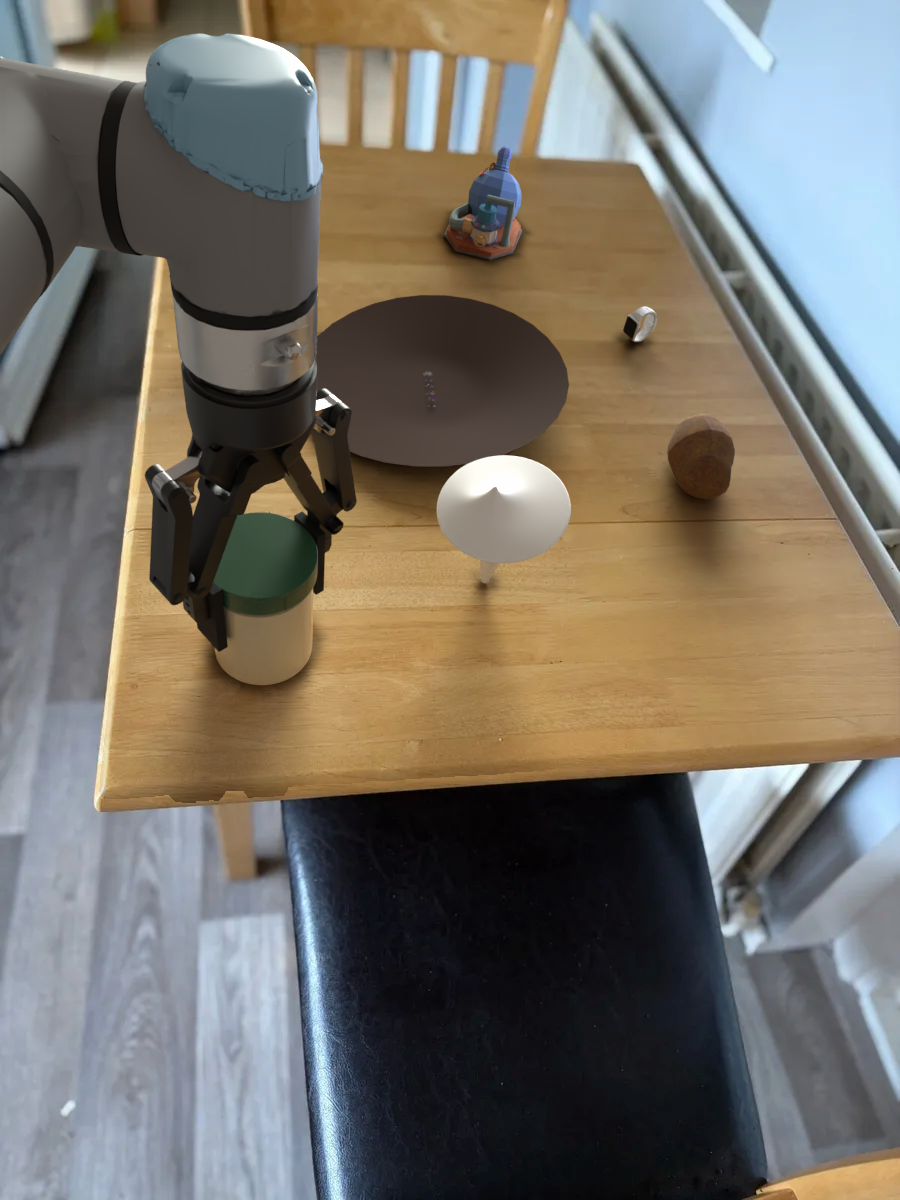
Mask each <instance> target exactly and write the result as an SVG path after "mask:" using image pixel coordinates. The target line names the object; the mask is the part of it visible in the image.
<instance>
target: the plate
mask: <svg viewBox="0 0 900 1200" xmlns="http://www.w3.org/2000/svg"><path fill="white" fill-rule="evenodd" d="M315 361H316V365H317V392H318V391H319V390H321V389H327V390H329V391H330V392H331V393H332V394H333V395H335V396H336V397H337V398H338V399H339V400H341V401H342V402H343V403H344V404H345V405H346V406H348V407H349V408H350V409H351V410H352V416H351V420H350V425H349V430H348V435H347V436H348V443H349V450H350V453H353V454H355V455H357V456H360V457H363V458H367V459H371V460H374V461H377V462H378V461H379V462H382V463H386V464H392V465H393V464H394V465H400V466H401V465H402V466H409V467H410V466H411V467H451V466H461V465H467V464H469V463H471V462H473V461H476V460H479V459H482V458H486V457H491V456H505V455H506V454H508V453H510V452H513V451H516V450H518V449H519V448H522V447H525V446H526V445H527V444H529V443H530V442H532V441H534V440H535V439H536V438H538V437H540V436H541V435H542V434H544V433H545V432H546V431H547V430H548V429H549V427H550V426H551V425H553V423H555V421H556V420H557V419H558V418H559V416H560V414H561V412H562V410H563V408H564V407H565V404H566V402H567V399H568V393H569V387H570V382H569V375H568V368H567V366H566V364H565V362H564V359H563V356H562V355H561V353H560V351H559V349H557V347H556V346H555V345H554V343H553V342H552V341H551V340H550V338H549V337H548V336H547V335H546V334H544V333H543V332H542V331H541V330H540V329H538V328H537V327H536V326H535V325H534V324H533V323H531V322H529V321H528V320H526V319H525V318H522V317H521V316H519V315H517V314H516V313H514V312H511V311H510V310H509V311H508V310H506V309H504V308H502V307H500V306H498V305H496V304H495V305H494V304H492V303H488V302H484V301H480V300H477V299H473V298H468V297H461V296H453V295H445V294H442V295H441V294H419V295H410V296H400V297H394V298H389V299H386V300H381V301H378V302H373V303H372V304H368V305H366V306H364V307H361V308H358V309H356V310H353V311H351V312H350V313H348V314H346V315H345V316H343V317H341V318H339V319H338V320H335V321H334V322H332V323H331V324H330V325H328V327H326V328H325V329H324V330H322V332H320V333H319V334H317V354H316V357H315Z"/></svg>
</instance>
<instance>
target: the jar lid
mask: <svg viewBox="0 0 900 1200" xmlns="http://www.w3.org/2000/svg"><path fill="white" fill-rule="evenodd" d="M317 573H318V550H317V546H316V543H315V541H314V539H313V537H312V535H311V534H310V533H309V532H308V531H307V530H306V529H305V528H304V527H303V526H302V525H300V524H299V523H298V522H296V521H294V519H292V518H290V517H288V516H285V515H281V514H278V513H273V512H265V511H264V512H263V511H261V512H259V511H258V512H255V511H254V512H246V513H244V514H242V515H237V517H236V520H235V523H234V526H233V529H232V531H231V534H230V537H229V540H228V542H227V545H226V548H225V551H224V554H223V556H222V559H221V562H220V565H219V567H218V570H217V573H216V576H215V579H214V582H215V583H216V584H217V585H218V586H219V587H220V589H221V590H222V596H223V606H224V607H226V608H228V609H230V610H232V611H236V612H239V613H243V614H248V615H269V614H275V613H279V612H282V611H287V610H288V609H290V608H292V607H294V606H295V605H297V604H299V603H300V602H301V601H303V600H304V599H305V598H306V597H307V596H308V594H309V593H310V592H311V590H312V589H313V587H314V585H315V582H316V579H317Z"/></svg>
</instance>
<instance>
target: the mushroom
mask: <svg viewBox="0 0 900 1200" xmlns="http://www.w3.org/2000/svg"><path fill="white" fill-rule="evenodd" d="M571 513H572V503H571V498H570V495H569V492H568V490H567V488H566V485H565V484H564V483H563V481H562V480H561V478H560V477H559V476H558V475H557V474H556V473H555V472H554V471H552V470H551V469H550V468H549V467H547V466H545V465H544V464H542V463H540V462H538V461H535V460H533V459H529V458H527V457H523V456H516V455H502V456H491V457H486V458H482V459H479V460H476V461H473V462H471V463H469V464H464V465H463V466H461V467H460V468H459V469H457V470H456V471H455V472H454V473H453V474H452V475H451V476H449V478H448V479H447V480H446V482H445V483H444V485H443V486H442V488H441V490H440V492H439V495H438V497H437V502H436V517H437V522H438V526H439V528H440V530H441V532H442V534H443V535H444V537H445V538H446V540H447V541H448V542H449V543H450V544H451V545H452V546H453V547H455V549H457V550H458V551H460V552H461V553H463V554H464V555H467V556H468V557H471V558H473V559H476V560H479V579H480V581H481V582H482V584H487V583H489V581H490V579H491V578H492V576H493V575H494V573H495V572H496V570H497V568H498V567H499V566H500V564H514V563H520V562H525V561H529V560H531V559H534V558H536V557H538V556H540V555H542V554H544V553H546V552H547V551H549V550H550V549H551V548H553V547H554V546H555V545H556V544H557V543H558V542H559V541H560V540H561V538H562V537H563V535H564V534H565V533H566V530H567V528H568V526H569V523H570V520H571Z"/></svg>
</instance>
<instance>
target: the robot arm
mask: <svg viewBox="0 0 900 1200" xmlns="http://www.w3.org/2000/svg"><path fill="white" fill-rule="evenodd" d="M318 101H319V100H318V90H317V86H316V83H315V81H314V78H313V76H312V74H311V72H310V71H309V70H308V68H307V67H306V66H305V64H304V63H303V62H302V61H301V60H300V59H299V58H297V57H296V56H295V55H294V54H292V53H291V52H290V51H288V50H286V49H285V48H283V47H281V46H279V45H277V44H275V43H272V42H269V41H266V40H263V39H261V38H256V37H253V36H248V35H243V34H235V33H224V34H221V35H211V34H210V35H209V34H206V33H192V34H186V35H181V36H178V37H174V38H171V39H169V40H168V41H166V42H164V43H162V44H160V45H159V46H158V47H156V48H155V49H154V50H153V51H152V52H151V54H150V56H149V57H148V60H147V63H146V67H145V80H143V81H139V82H136V81H135V82H134V81H130V80H121V79H116V78H111V77H107V76H100V75H95V74H89V73H84V72H79V71H74V70H68V69H63V68H57V67H54V66H53V67H52V66H47V65H42V64H37V63H30V62H25V61H21V60H16V59H15V60H14V59H11V58H10V59H9V58H5V57H4V56H0V356H2V354H3V353H4V351H5V349H6V348H7V346H8V345H9V344H10V342H11V340H12V339H13V338H14V336H15V334H16V333H17V331H18V330H19V329H20V327H21V325H22V324H23V322H24V321H25V320H26V319H27V317H28V315H29V313H30V312H31V311H32V309H33V308H34V306H35V305H36V303H37V302H38V301H39V299H40V298H41V297H42V296H43V295H44V294H45V293H46V291H48V289H49V287H50V285H52V282H53V281H54V279H55V278H56V277H57V276H58V274H59V273H60V271H61V269H62V268H63V267H64V265H65V264H66V262H67V261H68V259H69V258H70V256H71V255H72V254H73V252H74V250H75V249H76V248H77V247H81V248H88V249H94V250H101V251H106V252H107V251H108V252H114V253H119V254H125V255H132V256H140V257H141V256H149V257H156V258H161V259H165V260H166V263H167V267H168V272H169V279H170V280H169V281H170V289H171V292H172V303H173V312H174V320H175V321H174V323H175V331H176V339H177V349H178V353H179V358H180V360H181V363H180V369H181V378H182V387H183V396H184V402H185V411H186V415H187V419H188V423H189V426H190V429H191V439H190V442H189V445H188V446H187V447H188V448H187V450H186V458H184V459H183V460H181V461H179V462H177V463H176V464H174V465H173V466H171V467H169V468H167V469H166V468H165V467H163V466H162V464H159V463H156V464H152V465H150V466H149V467H148V468H147V469H146V470H145V473H144V479H145V482H146V483H147V486H148V488H149V490H150V493H151V495H152V508H151V509H152V510H151V513H152V514H151V529H150V530H151V532H150V533H151V534H150V556H149V577H148V578H149V582H150V583H151V584H152V585H153V586H154V587H155V589H157V591H158V592H159V593H160V594H161V595H162V596H163V597H164V598H165V600H167V602H168V603H169V604H170V605H171V606H178V605H180V604H182V606H183V610H184V611H185V612H186V613H187V614H188V615H189V617H190V618H191V619H192V620H193V621H194V622H195V624H196V627H197V630H198V631H199V632H200V633H201V634H202V635H203V636H204V637H205V639H206V640H207V641H208V642H209V644H211V645H212V646H213V648H214V647H215V648H216V649H217V651H218V652H220V651H222V650H224V649H225V648H227V647H228V644H227V635H226V625H225V615H224V606H223V596H222V590H221V589H220V587H219V586H218V585H217V584H216V583H215V582H214V579H215V576H216V573H217V570H218V567H219V565H220V562H221V559H222V556H223V554H224V551H225V548H226V545H227V542H228V540H229V537H230V534H231V531H232V529H233V526H234V523H235V520H236V517H237V516H238V515H242V514H245V512H246V510H247V507H248V504H249V502H250V499H251V496H252V495H253V494H255V493H257V491H259V490H260V489H262V488H263V487H265V486H266V485H267V486H268V485H270V484H274V483H277V482H279V481H282V480H284V481H285V483H286V484H287V486H288V487H289V489H290V490H291V492H292V493H293V495H294V496H295V497H296V499H297V500H298V502H299V504H300V505H301V507H302V508H303V509H304V510H305V511H306V513H307V514H306V513H305V512H304V511H303V510H302V511H300V512H298V513H296V514H294V515H293V520H294V521H296V522H298V523H299V524H300V525H302V526H303V527H304V528H305V529H306V530H307V531H308V532H309V533H310V534H311V535H312V537H313V539H314V541H315V543H316V546H317V550H318V573H317V579H316V582H315V585H314V595H315V596H317V595H318V594H320V593H323V592H324V591H325V567H326V566H325V565H326V564H325V562H326V553H327V552H330V550H331V547H332V539H333V536H335V535H338V534H339V533H340V532H341V531H342V530H343V528H344V522H343V521H342V519H340V517H338V516H337V515H338V514H339V513H341V512H342V511H344V512H346V513H348V512H350V511H351V510H353V509H354V508H355V507H356V505H357V503H358V502H357V501H358V500H357V494H356V486H355V478H354V473H353V472H354V471H353V465H352V464H353V463H352V459H351V452H350V450H349V443H348V436H347V435H348V430H349V425H350V420H351V416H352V410H351V409H350V408H349V407H348V406H346V405H345V404H344V403H343V402H342V401H341V400H339V399H338V398H337V397H336V396H335V395H333V394H332V393H331V392H330V391H329V390H327V389H321V390H319V391H318V392H317V365H316V361H315V357H316V354H317V336H318V317H319V316H318V314H319V313H318V312H319V309H318V308H319V252H320V228H321V227H320V226H321V223H320V221H321V197H322V195H321V194H322V180H323V177H324V176H323V175H324V164H323V162H322V160H321V159H322V158H321V153H320V152H321V151H320V149H321V148H320V130H319V129H320V127H319V103H318ZM311 434H312V441H313V446H314V450H315V456H316V461H317V467H318V471H319V476H320V477H319V478H320V483H321V488H322V490H321V488H320V487H319V485H318V483H317V482H316V480H315V479H314V477H313V476H312V475H313V473H312V471H311V469H310V468H309V466H308V465H307V463H306V461H305V460H304V458H303V456H302V453H301V451H302V450H303V448H304V447H305V444H306V442H307V441H308V439H309V438H310V436H311ZM196 482H197V490H198V493H199V496H198V497H197V495H196V494H195V484H196ZM322 491H323V492H322ZM197 498H198V499H197ZM196 501H197V502H196ZM194 503H196V505H195V509H194V511H193V507H192V504H194Z"/></svg>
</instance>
